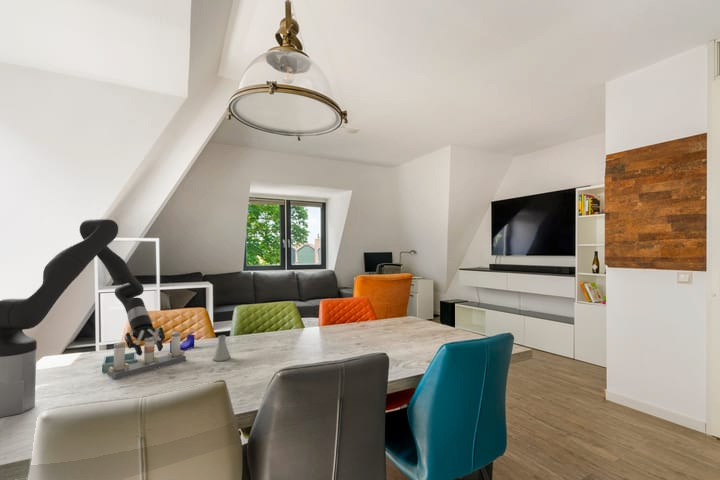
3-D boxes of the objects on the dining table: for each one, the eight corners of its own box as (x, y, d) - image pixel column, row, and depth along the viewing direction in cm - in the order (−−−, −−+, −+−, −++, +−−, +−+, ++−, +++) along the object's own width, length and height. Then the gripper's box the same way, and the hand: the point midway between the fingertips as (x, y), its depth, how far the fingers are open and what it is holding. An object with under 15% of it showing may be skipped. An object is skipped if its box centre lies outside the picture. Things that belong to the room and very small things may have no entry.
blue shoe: (186, 346, 167) (187, 334, 167) (194, 346, 166) (194, 334, 166) (167, 353, 156) (167, 340, 156) (175, 354, 155) (175, 341, 155)
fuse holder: (114, 379, 123) (114, 370, 123) (106, 374, 128) (106, 365, 128) (186, 360, 145) (186, 352, 145) (177, 357, 150) (177, 349, 150)
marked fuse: (154, 362, 136) (154, 338, 136) (144, 364, 134) (144, 339, 134) (153, 360, 139) (154, 336, 139) (143, 361, 137) (144, 337, 137)
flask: (209, 360, 145) (209, 337, 146) (222, 355, 152) (223, 333, 152) (220, 362, 142) (220, 339, 142) (233, 357, 148) (234, 335, 149)
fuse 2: (180, 356, 145) (181, 333, 145) (171, 357, 143) (171, 334, 143) (179, 354, 147) (180, 331, 148) (170, 355, 145) (171, 332, 146)
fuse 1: (124, 370, 127) (124, 343, 128) (113, 372, 126) (113, 345, 126) (124, 367, 130) (125, 341, 131) (113, 369, 128) (114, 343, 129)
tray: (135, 366, 137) (135, 359, 137) (102, 372, 131) (102, 364, 131) (135, 359, 147) (135, 352, 147) (104, 363, 141) (104, 356, 141)
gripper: (122, 317, 136) (133, 351, 128) (160, 311, 147) (172, 342, 140) (117, 328, 139) (128, 362, 131) (154, 322, 150) (166, 353, 143)
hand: (151, 352), depth 136 cm, fingers open, 7 cm apart
